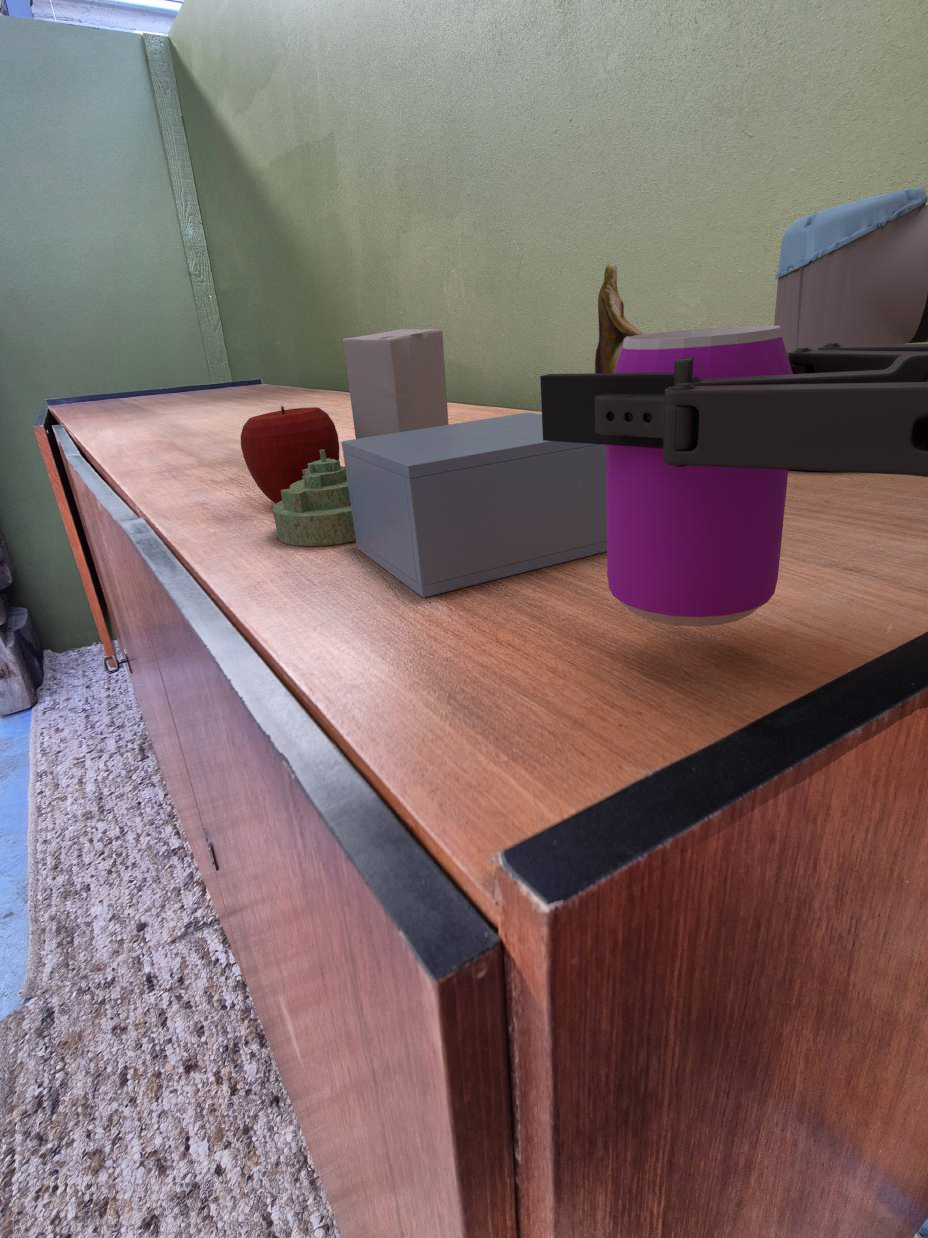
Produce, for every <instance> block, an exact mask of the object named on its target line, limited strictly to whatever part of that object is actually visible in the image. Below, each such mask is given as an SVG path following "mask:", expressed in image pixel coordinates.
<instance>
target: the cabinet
mask: <svg viewBox="0 0 928 1238" xmlns="http://www.w3.org/2000/svg"><path fill="white" fill-rule="evenodd" d="M340 443H341V450H342V455H343V463H344V466H345V470H346V476H347V483H348V490H349V497H350V503H351V510H352V517H353V523H354V530H355V537H356V541H355V542H356V543H355V544H356V549H357V550H358V551H359V552H361V553H362V554H363V555H365V556H367V557H368V558H369V559H370V560H371V561H373V562H374V563H376V564H377V565H378V566H379V567H381V568H383V569H384V570H386V571H387V572H388V573H389V574H391V575H392V576H393V577H394V578H396V579H397V580H399V582H402V583H403V585H405V586H407V587H408V588H410V589H411V590H412V591H413V592H415V593H416V594H418V595H419V596H420V597H421V598H423V599H424V598H428V597H432V596H436V595H440V594H443V593H444V594H445V593H448V592H453V591H455V590H459V589H464V588H468V587H471V586H475V585H480V584H483V583H487V582H491V581H496V580H499V579H504V578H507V577H510V576H511V577H512V576H515V575H519V574H523V573H527V572H531V571H535V570H539V569H542V568H547V567H550V566H555V565H559V564H562V563H566V562H570V561H574V560H578V559H583V558H586V557H590V556H594V555H597V554H601V553H607V479H606V445H603V444H588V443H573V442H558V441H543V430H542V413H534V412H522V413H515V414H509V415H501V416H496V417H489V418H483V419H477V420H471V421H470V420H469V421H464V422H458V423H451V424H449V425H444V426H437V427H431V428H424V429H418V430H411V431H405V432H398V433H392V434H385V435H379V436H372V437H366V438H360V439H356V438H353V439H347V440H341V442H340Z"/></svg>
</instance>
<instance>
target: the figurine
mask: <svg viewBox="0 0 928 1238" xmlns="http://www.w3.org/2000/svg"><path fill="white" fill-rule="evenodd" d="M624 306H625V304H624V302H623V299H622V298H621V296H620V294H619V290H618V266H617V264H616V263H614V262H609V263H608V264H607V265H606V266H605V269H604V277H603V282H602V285H601V287H600V289H599V291H598V298H597V313H598V317H597V318H598V342H597V346H596V349H595V355H594V356H595V357H594V373H614V371H615V368H616V365H617V362H618V359H619V356H620V353H621V350H622V347H623V342H624V338H626V337H631V336H636V335H643V334H644V332H643V331H641V330H640V329H638V328H637V327H636V326H634V325H633V324H632V323H630V321H629V320H627V318H626V316H625V311H624V308H625V307H624Z"/></svg>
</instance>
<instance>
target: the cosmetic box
mask: <svg viewBox="0 0 928 1238" xmlns="http://www.w3.org/2000/svg"><path fill="white" fill-rule="evenodd" d="M443 336H444V335H443V330H442V328H401V329H400V328H399V329H393V330H390V331H384V332H379V333H373V334H366V335H359V336H353V337H346V338H343V339H342V342H343V350H344V359H345V366H346V373H347V381H348V391H349V397H350V404H351V412H352V413H351V414H352V420H353V428H354V435H355V436H354V437H355V439H360V438H366V437H372V436H379V435H385V434H392V433H398V432H405V431H411V430H418V429H424V428H431V427H437V426H444V425H450V424H449V411H448V395H447V382H446V381H447V380H446V366H445V365H446V364H445V351H444V337H443Z"/></svg>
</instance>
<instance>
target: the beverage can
mask: <svg viewBox="0 0 928 1238" xmlns="http://www.w3.org/2000/svg"><path fill="white" fill-rule="evenodd" d="M690 357H694V360H693V376H699V378H702V379H708V378H728V377H749V376H769V375H789V374H793V373H792V369H791V366H790V362H789V359H788V356H787V352H786V349H785V345H784V342H783V338H782V333H781V327H780V326H774V325H771V324H770V325H769V324H767V325H766V324H764V325H736V326H735V325H734V326H719V327H705V328H692V329H691V328H690V329H680V330H670V331H659V332H651V333H643V335H636V336H631V337H628V336H627V337H626V338H624V342H623V347H622V350H621V353H620V356H619V359H618V362H617V365H616V368H615V371H614V373H674V360H675V359H680V358H690ZM788 477H789V470H784V469H761V468H738V467H715V466H692V465H688V466H685V467H675V466H673V465H667V464H666V463H664V462H663V448H648V447H633V446H618V445H606V479H607V551H606V575H607V576H606V577H607V583H608V588H609V591H610V593H611V595H612V597H614V598H615V599H616V600H618V602H620V603H621V604H622V605H623V606H624V607H625V608H626V610H628V611H630V612H631V613H632V614H634V615H636V616H638V617H639V618H642V619H646V620H648V621H651V622H654V623H659V624H663V625H671V626H677V627H678V626H679V627H696V628H697V627H709V626H710V627H711V626H722V625H725V624H729V623H734V622H738V621H740V620H742V619H744V618H746V617H749V616H750V615H752V614H753V613H754V612H755V611H757V610H758V609H760V607H762V606H764V605H766V604H767V603H768V602H769V601H770V600H771V598H772V597H773V596H774V594H776V593H775V592H776V588H777V585H778V580H779V572H780V571H779V570H780V561H781V550H782V539H783V529H784V517H785V507H786V497H787V487H788Z"/></svg>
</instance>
